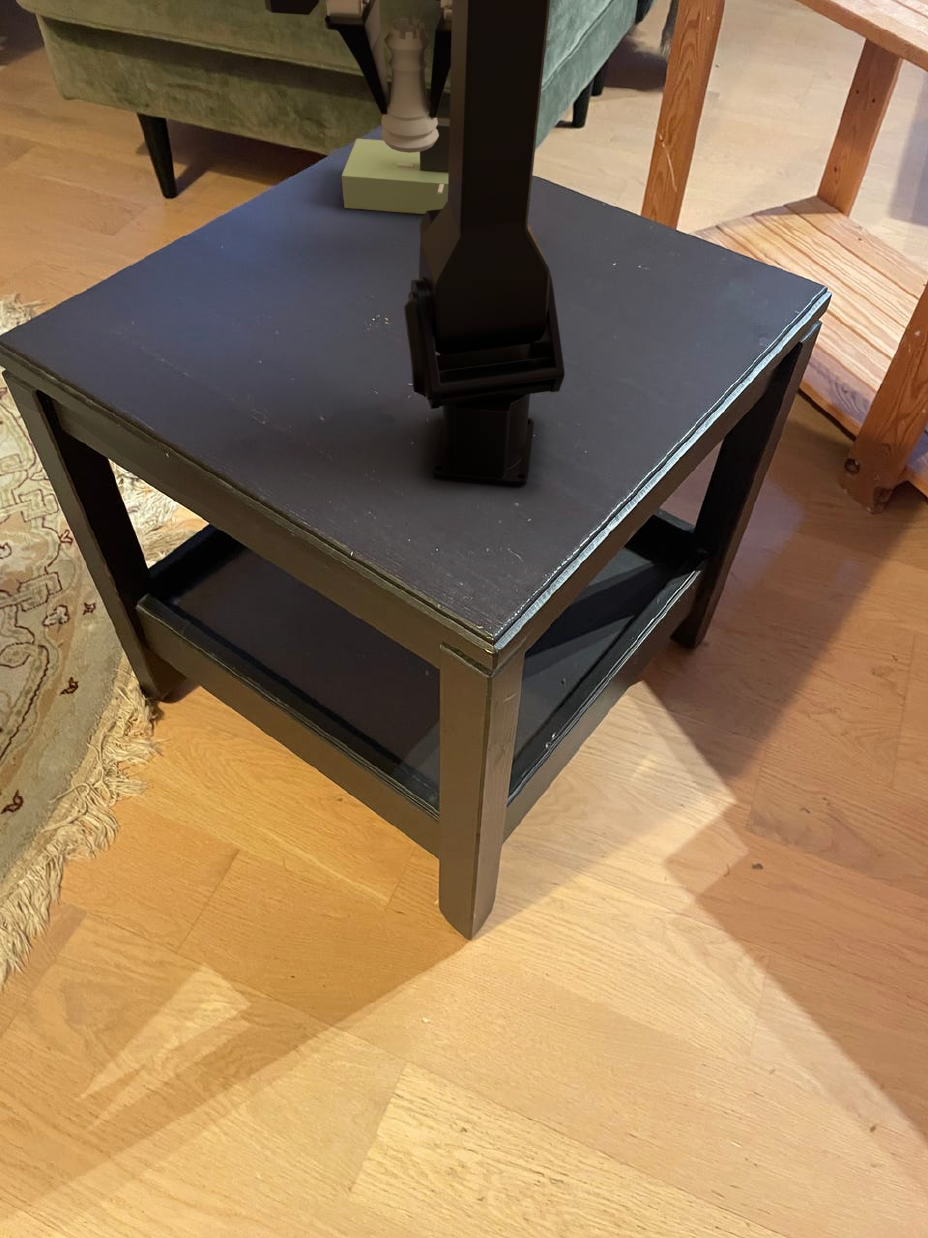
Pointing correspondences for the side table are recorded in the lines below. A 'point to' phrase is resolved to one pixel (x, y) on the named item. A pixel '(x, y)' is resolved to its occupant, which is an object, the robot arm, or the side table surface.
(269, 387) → the side table surface
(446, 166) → the dark square block
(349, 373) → the side table surface
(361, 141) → the olive green box
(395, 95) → the rook chess piece
